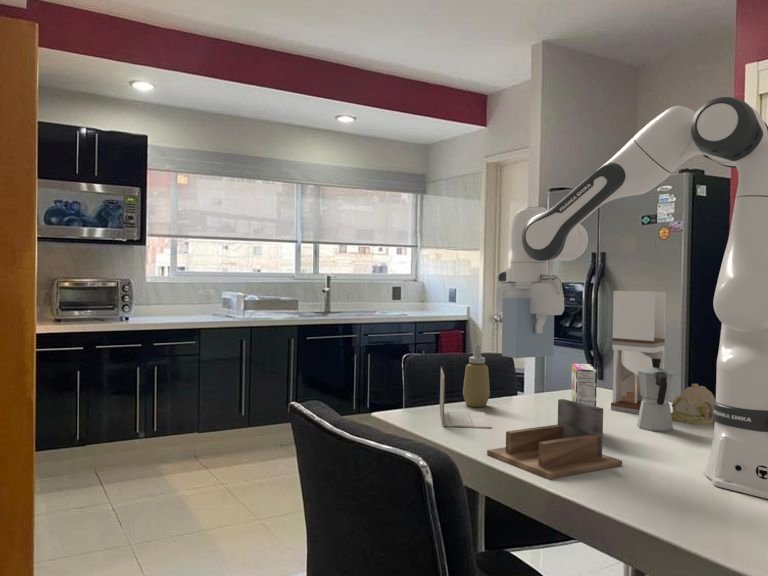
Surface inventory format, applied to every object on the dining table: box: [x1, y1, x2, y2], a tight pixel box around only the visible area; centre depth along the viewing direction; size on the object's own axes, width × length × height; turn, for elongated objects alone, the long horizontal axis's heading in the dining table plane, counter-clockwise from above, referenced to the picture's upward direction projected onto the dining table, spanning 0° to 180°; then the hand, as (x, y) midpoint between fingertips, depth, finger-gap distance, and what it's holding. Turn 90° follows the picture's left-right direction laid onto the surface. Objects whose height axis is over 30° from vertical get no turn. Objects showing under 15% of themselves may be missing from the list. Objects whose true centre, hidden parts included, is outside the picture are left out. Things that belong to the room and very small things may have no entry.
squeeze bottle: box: [462, 344, 491, 408], centre depth 182 cm, size 8×8×18 cm
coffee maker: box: [636, 358, 675, 433], centre depth 156 cm, size 15×9×18 cm, turn 168°
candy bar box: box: [570, 363, 598, 407], centre depth 150 cm, size 11×5×16 cm, turn 168°
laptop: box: [439, 366, 493, 429], centre depth 162 cm, size 18×12×13 cm
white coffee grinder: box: [610, 290, 667, 415], centre depth 180 cm, size 11×11×35 cm
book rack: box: [486, 398, 623, 480], centre depth 126 cm, size 18×20×11 cm
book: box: [501, 298, 555, 359], centre depth 147 cm, size 5×12×14 cm, turn 120°
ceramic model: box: [671, 383, 716, 425], centre depth 169 cm, size 14×11×10 cm
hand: (528, 332), depth 147 cm, fingers closed on book, 5 cm apart
